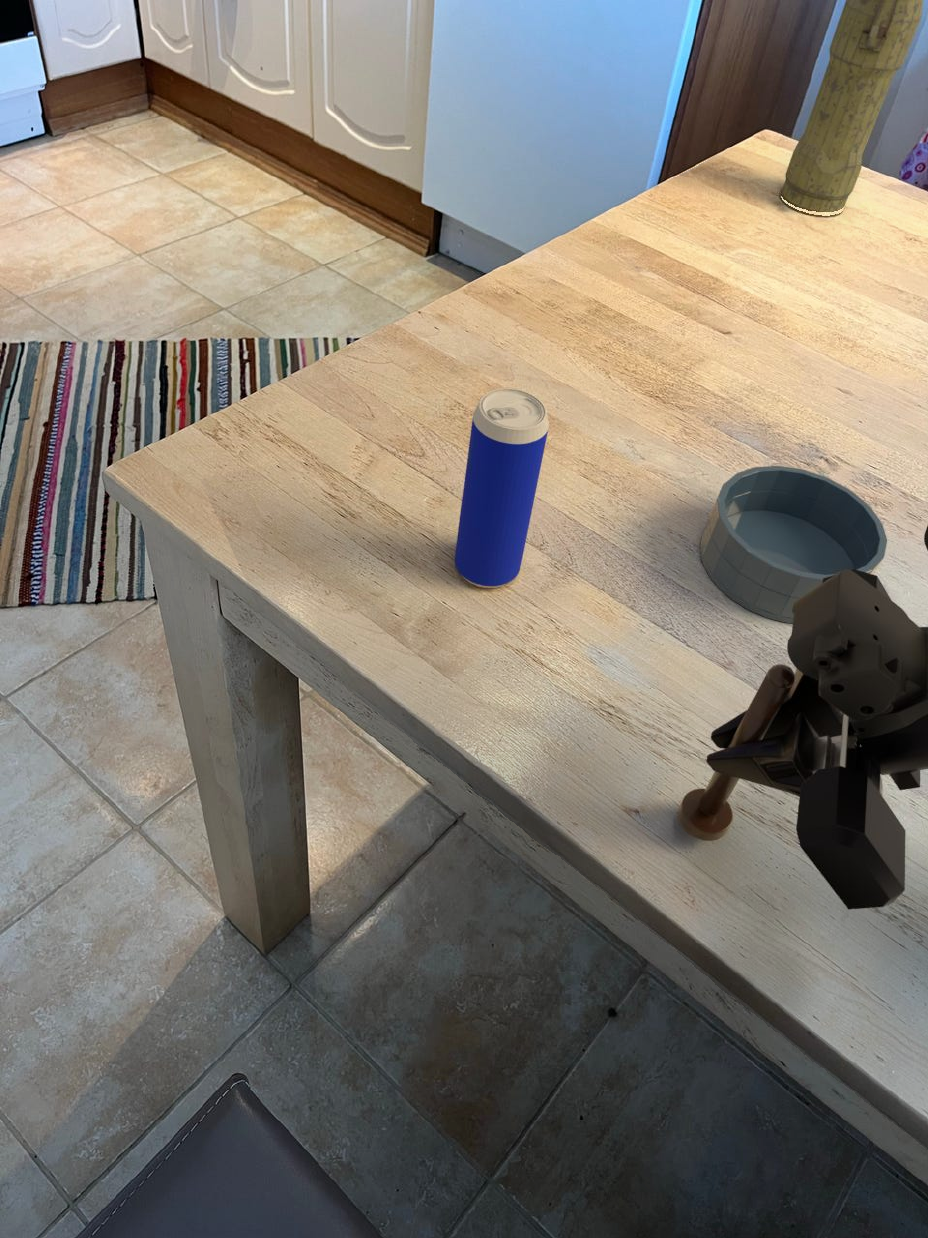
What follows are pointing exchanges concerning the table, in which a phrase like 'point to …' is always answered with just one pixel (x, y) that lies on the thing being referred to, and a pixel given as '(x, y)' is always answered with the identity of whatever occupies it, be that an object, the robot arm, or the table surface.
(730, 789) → the stirrer
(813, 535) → the bowl
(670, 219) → the table surface
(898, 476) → the table surface
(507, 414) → the beverage can
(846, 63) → the olive tall cylinder
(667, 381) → the table surface
